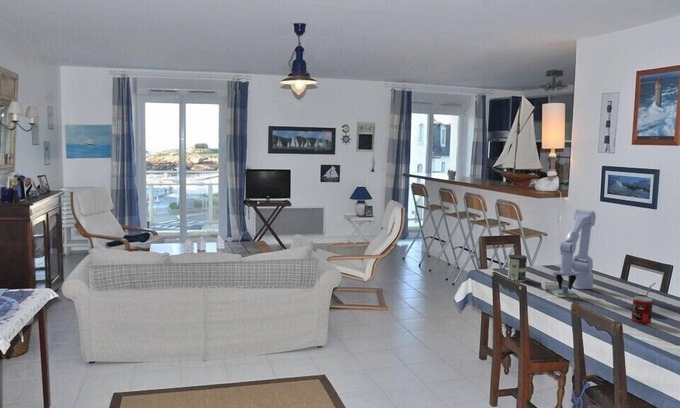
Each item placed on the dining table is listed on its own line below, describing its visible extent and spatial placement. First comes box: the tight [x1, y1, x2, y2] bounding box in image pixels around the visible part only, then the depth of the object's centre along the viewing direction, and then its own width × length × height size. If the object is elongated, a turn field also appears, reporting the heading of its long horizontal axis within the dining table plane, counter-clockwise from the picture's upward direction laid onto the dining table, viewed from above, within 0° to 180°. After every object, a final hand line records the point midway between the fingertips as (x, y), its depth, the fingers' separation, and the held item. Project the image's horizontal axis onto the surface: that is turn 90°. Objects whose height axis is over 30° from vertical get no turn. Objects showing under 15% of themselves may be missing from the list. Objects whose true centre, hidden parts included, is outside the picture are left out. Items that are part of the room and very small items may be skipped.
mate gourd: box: [635, 282, 656, 298], centre depth 274 cm, size 8×8×15 cm
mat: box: [549, 290, 581, 299], centre depth 303 cm, size 12×12×1 cm
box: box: [540, 280, 562, 291], centre depth 315 cm, size 9×6×3 cm, turn 89°
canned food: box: [631, 295, 654, 325], centre depth 260 cm, size 8×8×11 cm
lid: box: [553, 284, 577, 295], centre depth 303 cm, size 10×7×4 cm
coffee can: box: [507, 254, 528, 283], centre depth 333 cm, size 10×10×14 cm
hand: (564, 288), depth 303 cm, fingers open, 4 cm apart
